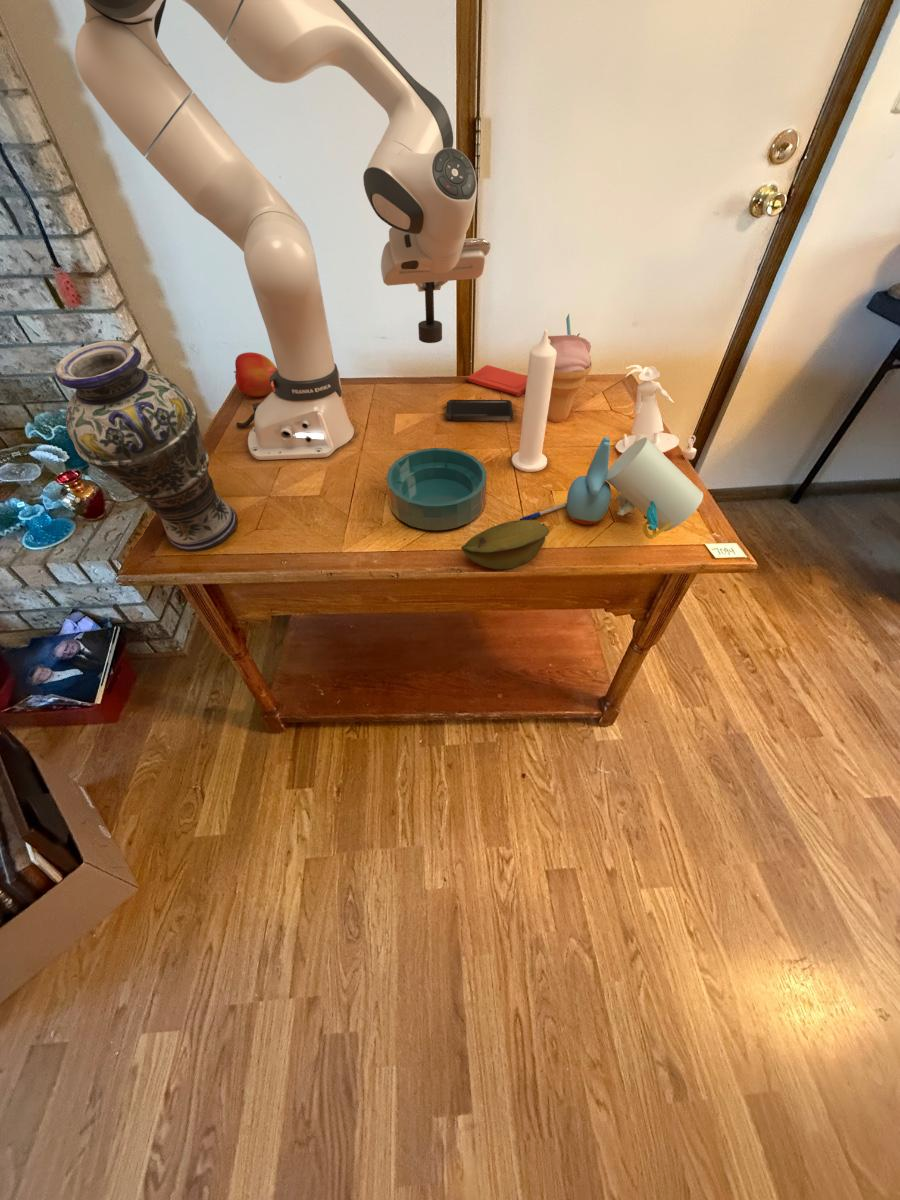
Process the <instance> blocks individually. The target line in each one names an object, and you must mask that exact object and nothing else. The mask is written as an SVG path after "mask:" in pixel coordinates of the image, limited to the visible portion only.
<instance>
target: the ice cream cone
mask: <svg viewBox="0 0 900 1200" xmlns="http://www.w3.org/2000/svg"><path fill="white" fill-rule="evenodd" d="M570 319H571V318H570V313H568V314H567V316H566V319H565V321H566V322H565V323H566V333H567V334H564V335H560V334H559V335H548V340H549V344H550V345H551V346H552V347H553V348H554V349H555V350H556V352H557V354H556V361H555V368H554V374H553V381H552V388H551V395H550V402H549V408H548V415H547V421H549V422H553V423H562V422H565V421H566V420H567V418H569V415H570V413H571V410H572V406H573V404H574V401H575V396H576V394H577V392H578V390H579V389H580V388H581V387H582V386H584V384H585V383H586V380H587V376H588V375H589V374H590V373H591V371H592V367H593V366H592V365H593V364H592V359H591V354H590V353H591V348H592V347H591V343H590V341H588V340H587V339H586V338H584V337H582V336H580V335H581V333H578V334H577V335H575V334H572V332H571V331H572V330H571V320H570Z"/></svg>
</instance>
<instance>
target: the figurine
mask: <svg viewBox="0 0 900 1200" xmlns="http://www.w3.org/2000/svg"><path fill="white" fill-rule="evenodd" d="M632 368H633V369H632ZM626 369H631V370H630V371H629V372H627V374H626V375H625V378H627V377H628V376H629V375H631V374H633V373H636V372H637V373H638V372H640V373H639V375H638V380H640V381H642V382H641V383H639V384H638V385H637V388H636V399H635V406H634V411H633V413H634V418H633V422H632V425H631V432H630V434H631V435H627V433H624V434H623V438H622V439H620V440H618V442H616V444H615V446H614V448H615V449H616V450H617V451H618V452H619V453H621V454H622V453H623V452H624V451H626V450H627V449H628V448H629V447H630V446H631V445H633V444H634V443H635V442H637V441H638V440H640V439H642V438H647V439H648V440H649V441H650V442H651V443H652V444H653V445H654V446H655V447H656V448H658V449H659V450H660V451H661V452H662V453H665V452H668V451H670V450H672V449H674V448H676V447H678V445H679V443H680V441H681V439H679V438H678V437H677V436H676V435H675V434H672V433H667V432H664V423H663V419H662V415H661V411H660V408H659V403H658V401H657V397H656V392H657V393H659V394H660V396H662V398H665V400H664V402H665V403H666V402H667V401H668V402H671V403H672V404H675V402H674V400H673V399H672V398H671V396H670V395H669V394H668V392H667V390H665V389H663V387H662V386H661V383H660V381H659V382H658V381H655V380H657V379H658V378H659V377H660V376H661V373H660V371H658V369H656V367H655V366H654V365H651V366H645V367H643V368H642V366H641V365H639V364H632V365H629V366H626ZM686 441H687V443H688V444H687V447H686V448H685V449H683V451H682V453H683V458H684V459H685V458H686V460H687V461H692V460H694V458H695V457H696V454H697V451H698V450H697V449H696V448H695V447H694V443H695V442H696V436H695V435H693V434H691V435H689V436H688V437H687V439H686Z"/></svg>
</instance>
